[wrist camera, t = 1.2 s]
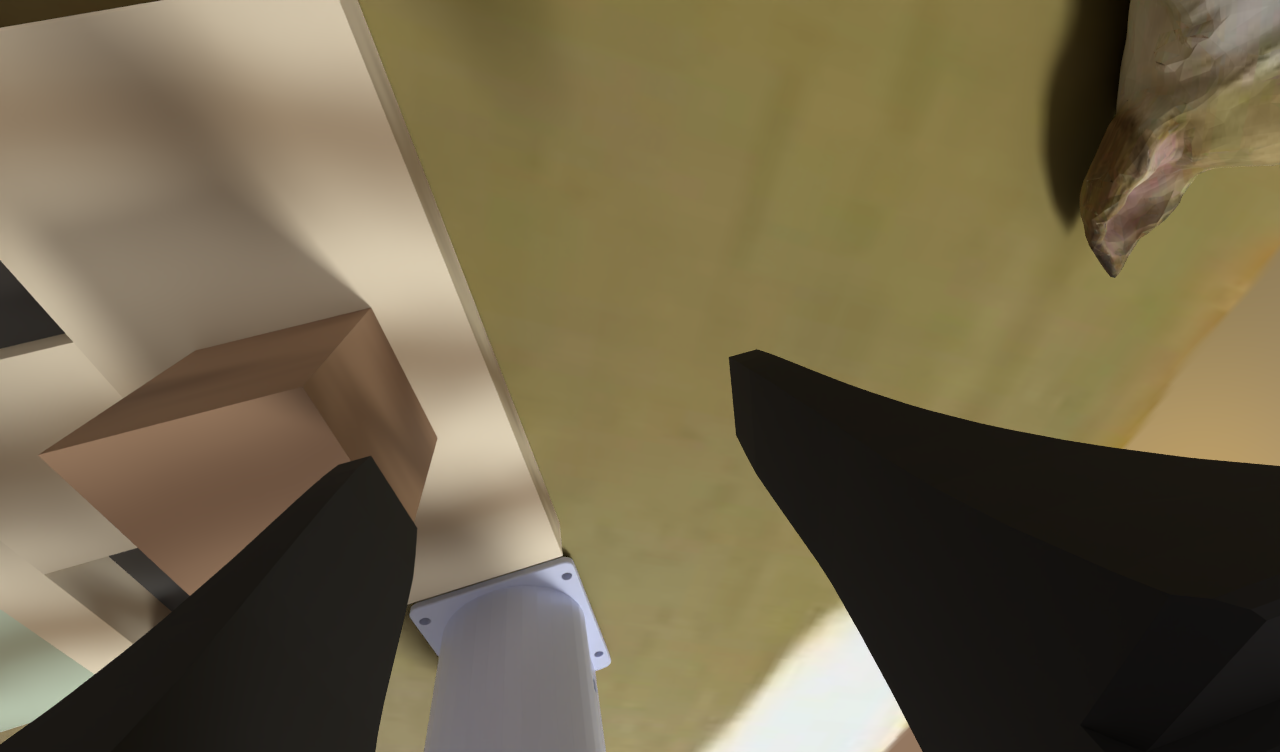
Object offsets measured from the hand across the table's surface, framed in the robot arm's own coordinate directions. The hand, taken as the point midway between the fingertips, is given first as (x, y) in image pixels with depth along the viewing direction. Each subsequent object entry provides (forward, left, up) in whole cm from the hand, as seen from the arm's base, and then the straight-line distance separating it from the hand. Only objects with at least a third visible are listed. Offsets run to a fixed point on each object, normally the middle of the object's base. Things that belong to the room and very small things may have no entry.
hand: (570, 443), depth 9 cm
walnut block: (-1, +8, -7) cm, 10 cm away
